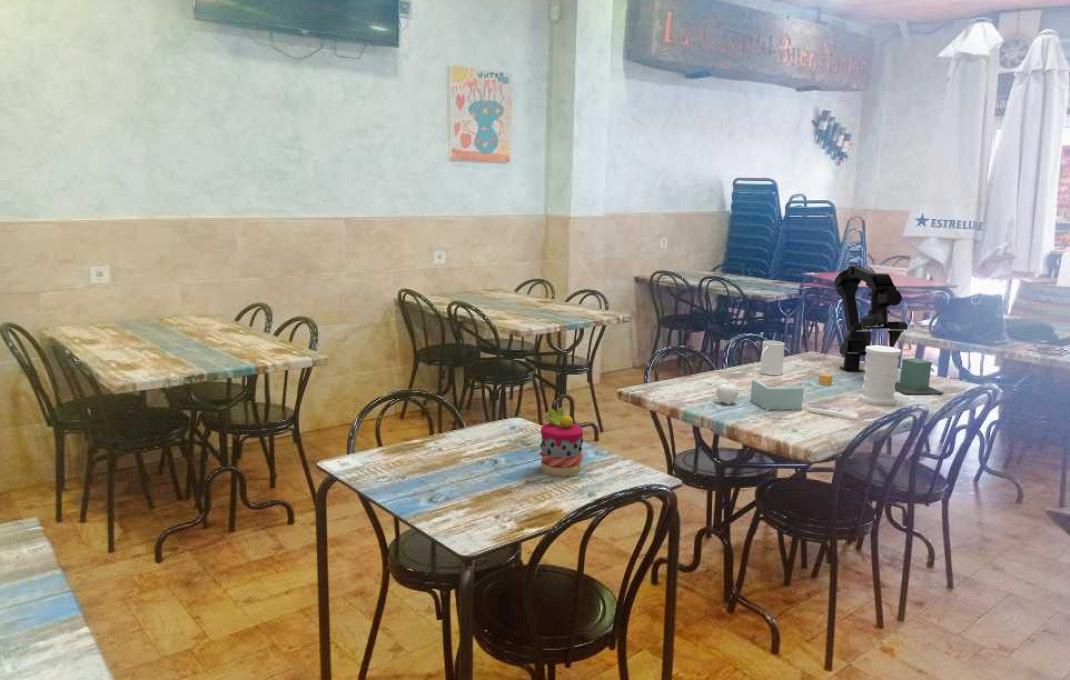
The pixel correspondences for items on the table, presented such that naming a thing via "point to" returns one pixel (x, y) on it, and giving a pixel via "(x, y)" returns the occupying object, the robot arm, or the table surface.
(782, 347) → the mug
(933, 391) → the mat
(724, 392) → the plain white apple
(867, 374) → the decorative container
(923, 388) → the green block
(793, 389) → the right angle wall
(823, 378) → the orange cube
